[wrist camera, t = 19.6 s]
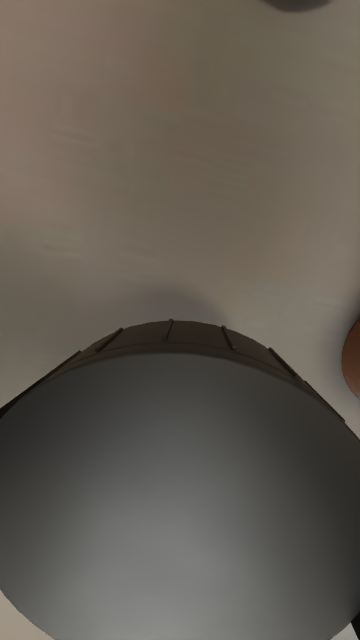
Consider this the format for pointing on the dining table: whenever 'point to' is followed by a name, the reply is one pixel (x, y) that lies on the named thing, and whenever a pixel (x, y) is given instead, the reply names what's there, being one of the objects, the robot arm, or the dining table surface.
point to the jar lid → (179, 494)
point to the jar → (352, 360)
